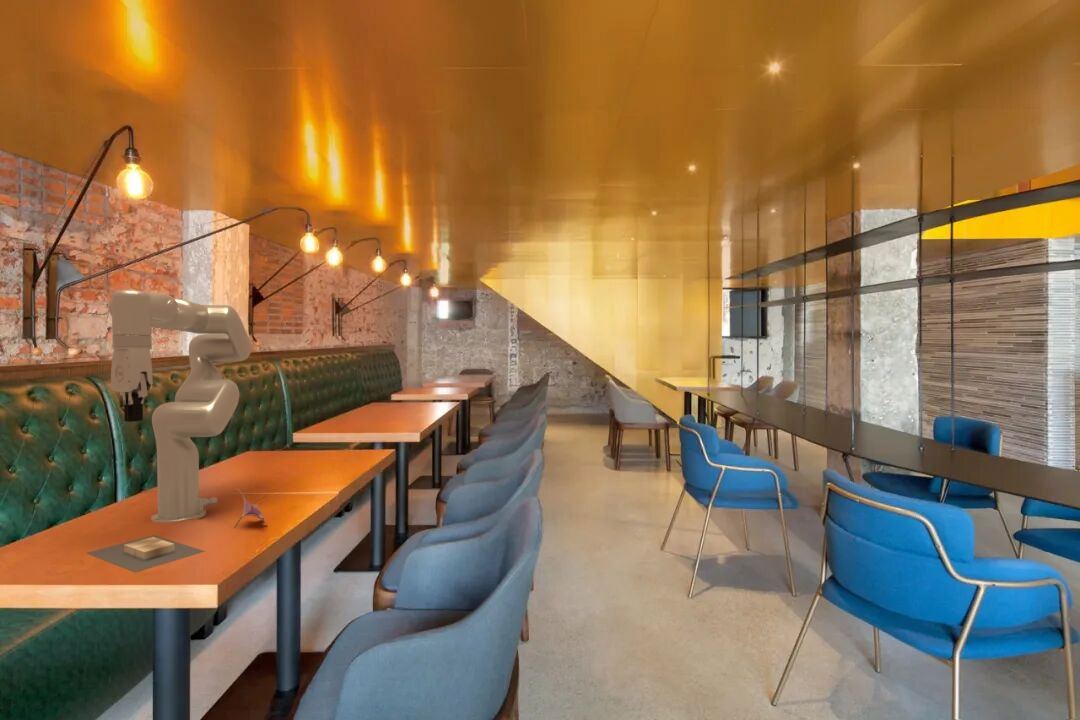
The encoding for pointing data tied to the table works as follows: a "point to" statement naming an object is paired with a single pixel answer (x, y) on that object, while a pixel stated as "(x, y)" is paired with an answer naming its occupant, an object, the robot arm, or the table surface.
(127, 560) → the mat
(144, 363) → the robot arm
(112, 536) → the table surface
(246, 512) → the lily
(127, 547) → the tile
